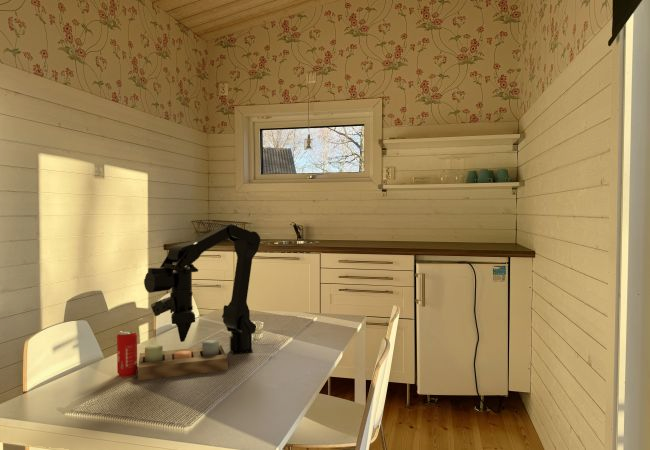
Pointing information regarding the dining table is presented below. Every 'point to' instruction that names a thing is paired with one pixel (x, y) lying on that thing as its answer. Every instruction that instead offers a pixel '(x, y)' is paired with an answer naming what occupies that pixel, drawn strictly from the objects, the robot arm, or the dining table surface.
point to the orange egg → (182, 354)
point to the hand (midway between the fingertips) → (182, 341)
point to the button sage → (154, 353)
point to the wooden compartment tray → (181, 364)
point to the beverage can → (127, 353)
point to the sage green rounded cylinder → (210, 348)
